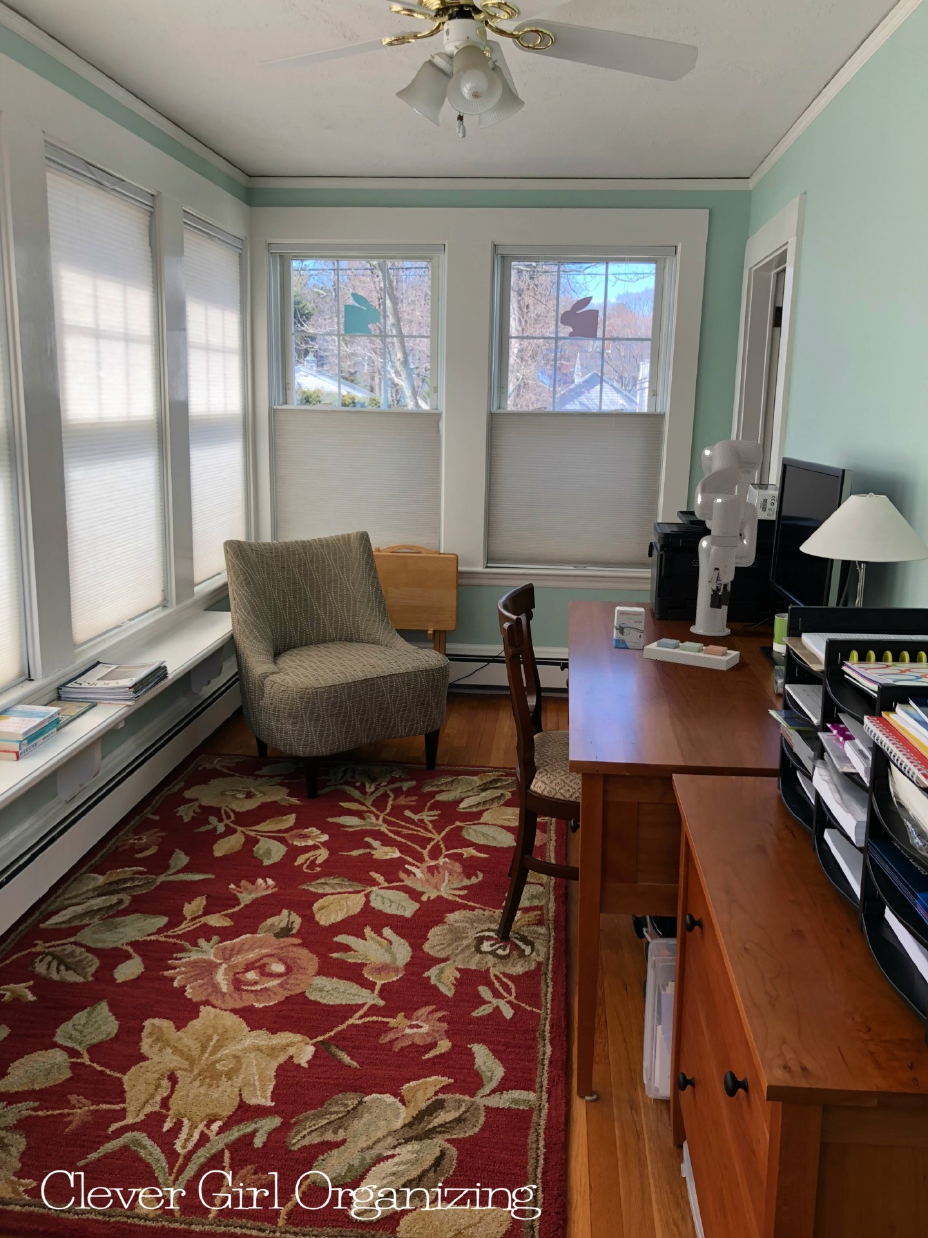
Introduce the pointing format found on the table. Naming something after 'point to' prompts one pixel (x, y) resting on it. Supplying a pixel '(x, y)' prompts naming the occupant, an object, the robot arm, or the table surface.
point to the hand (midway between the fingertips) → (719, 606)
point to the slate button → (668, 643)
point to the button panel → (692, 657)
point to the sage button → (691, 647)
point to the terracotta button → (715, 650)
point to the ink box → (629, 627)
